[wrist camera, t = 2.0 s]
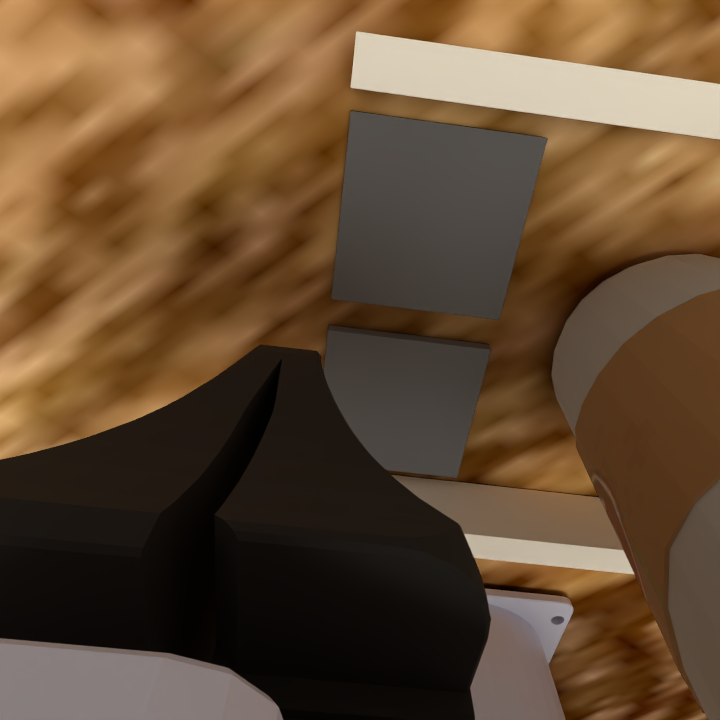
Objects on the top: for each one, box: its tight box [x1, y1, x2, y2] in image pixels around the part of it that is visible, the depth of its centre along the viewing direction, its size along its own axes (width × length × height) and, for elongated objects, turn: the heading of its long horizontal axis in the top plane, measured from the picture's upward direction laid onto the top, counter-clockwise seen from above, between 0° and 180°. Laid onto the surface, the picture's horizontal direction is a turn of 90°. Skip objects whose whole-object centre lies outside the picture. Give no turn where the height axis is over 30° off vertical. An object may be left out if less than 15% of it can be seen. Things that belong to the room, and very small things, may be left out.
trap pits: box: [324, 111, 547, 478], centre depth 16 cm, size 11×5×1 cm, turn 173°
